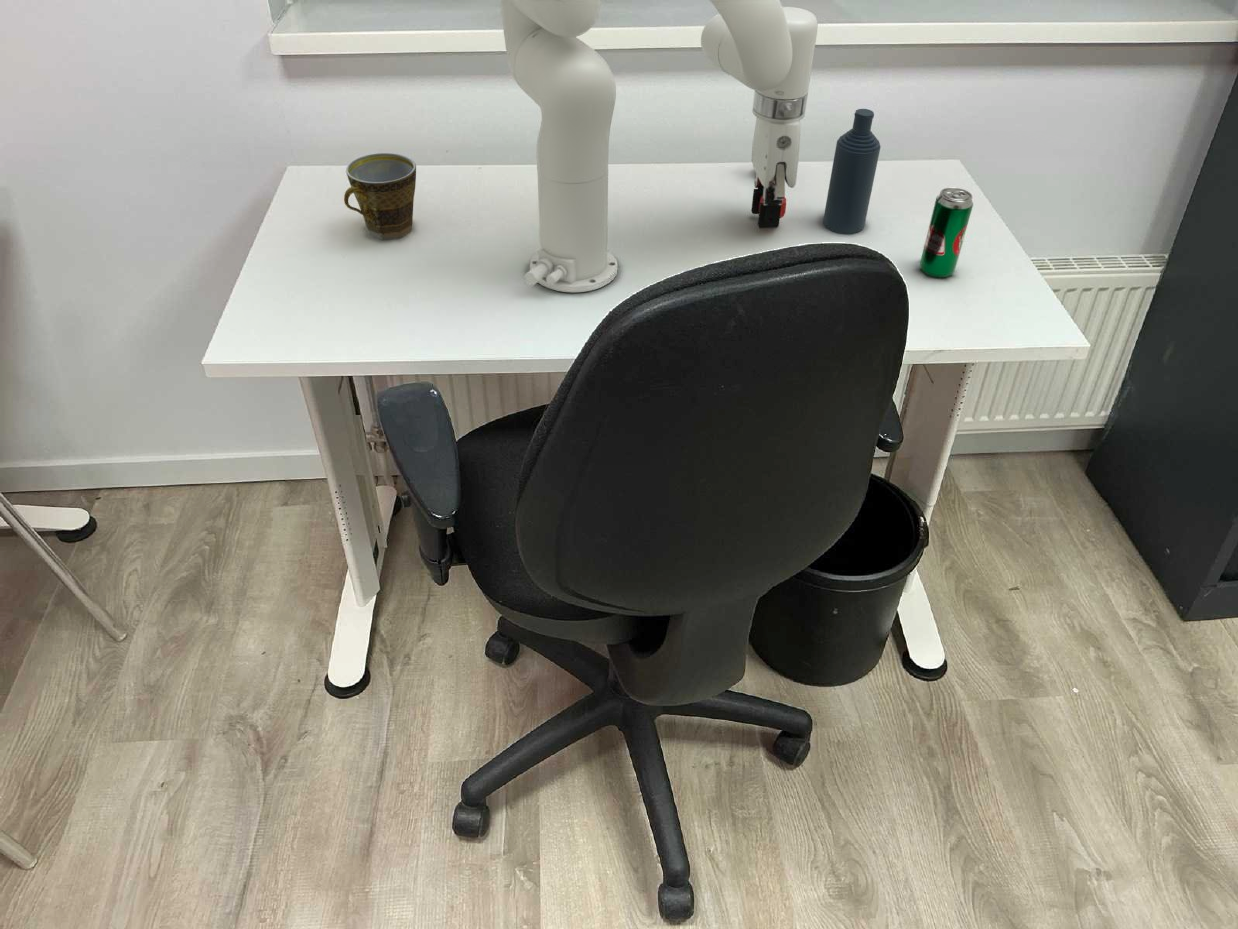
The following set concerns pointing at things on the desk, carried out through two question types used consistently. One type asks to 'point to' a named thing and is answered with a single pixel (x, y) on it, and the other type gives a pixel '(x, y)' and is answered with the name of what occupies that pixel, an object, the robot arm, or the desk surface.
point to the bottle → (852, 176)
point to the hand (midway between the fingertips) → (764, 218)
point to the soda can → (946, 232)
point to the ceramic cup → (383, 193)
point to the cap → (781, 206)
